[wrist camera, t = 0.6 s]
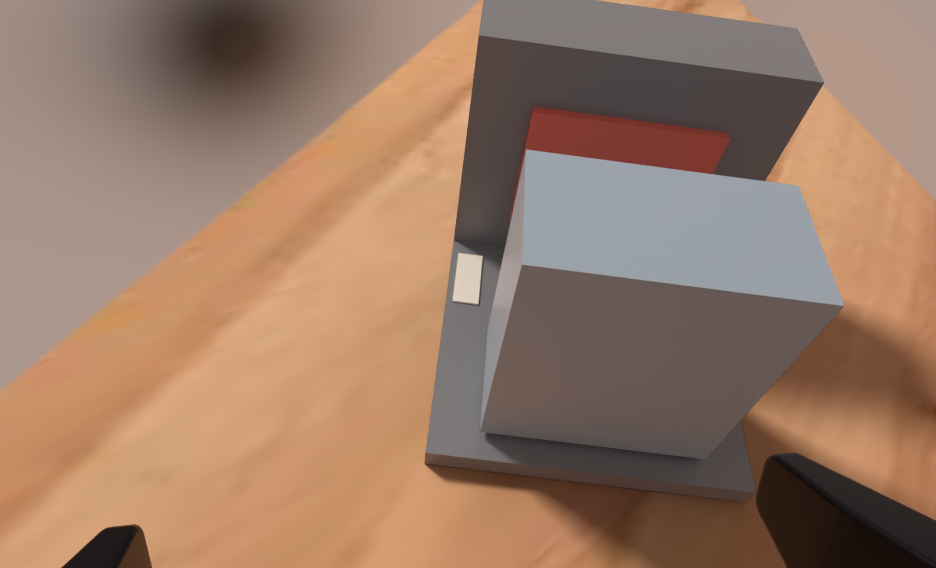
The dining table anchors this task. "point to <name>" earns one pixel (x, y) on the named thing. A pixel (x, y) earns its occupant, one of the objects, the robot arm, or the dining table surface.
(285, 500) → the dining table surface
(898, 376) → the dining table surface
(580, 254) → the blue-gray rectangular block
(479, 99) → the plate
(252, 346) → the dining table surface
